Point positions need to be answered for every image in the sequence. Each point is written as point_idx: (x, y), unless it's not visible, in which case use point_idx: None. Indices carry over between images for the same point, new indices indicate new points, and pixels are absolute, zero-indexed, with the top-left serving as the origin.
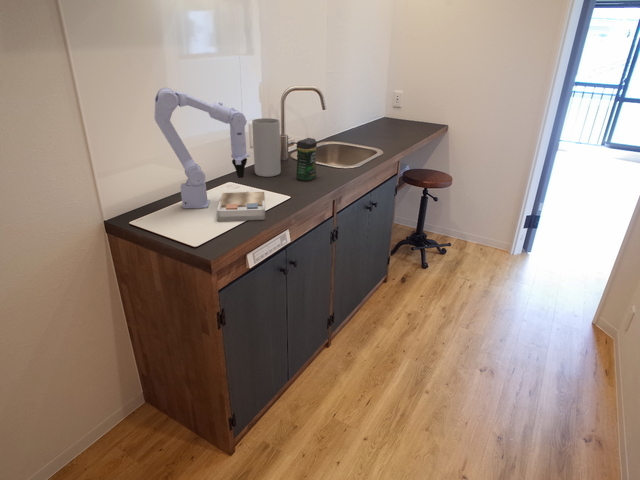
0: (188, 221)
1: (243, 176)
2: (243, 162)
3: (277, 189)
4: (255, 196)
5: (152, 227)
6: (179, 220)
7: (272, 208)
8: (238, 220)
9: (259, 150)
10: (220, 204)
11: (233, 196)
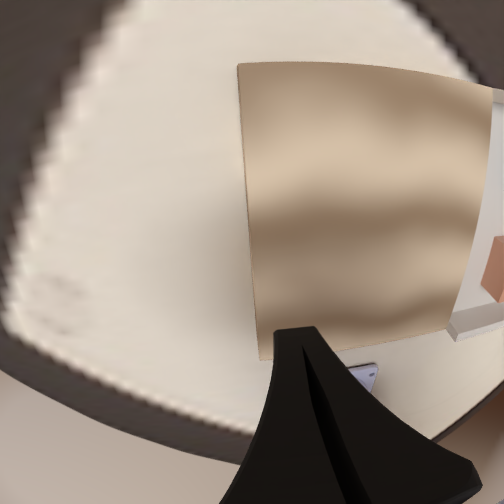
0: (462, 370)
1: (317, 332)
2: (472, 494)
3: (58, 7)
4: (358, 138)
5: (453, 416)
6: (444, 391)
7: (445, 35)
8: None
9: None
10: (484, 327)
11: (336, 295)
